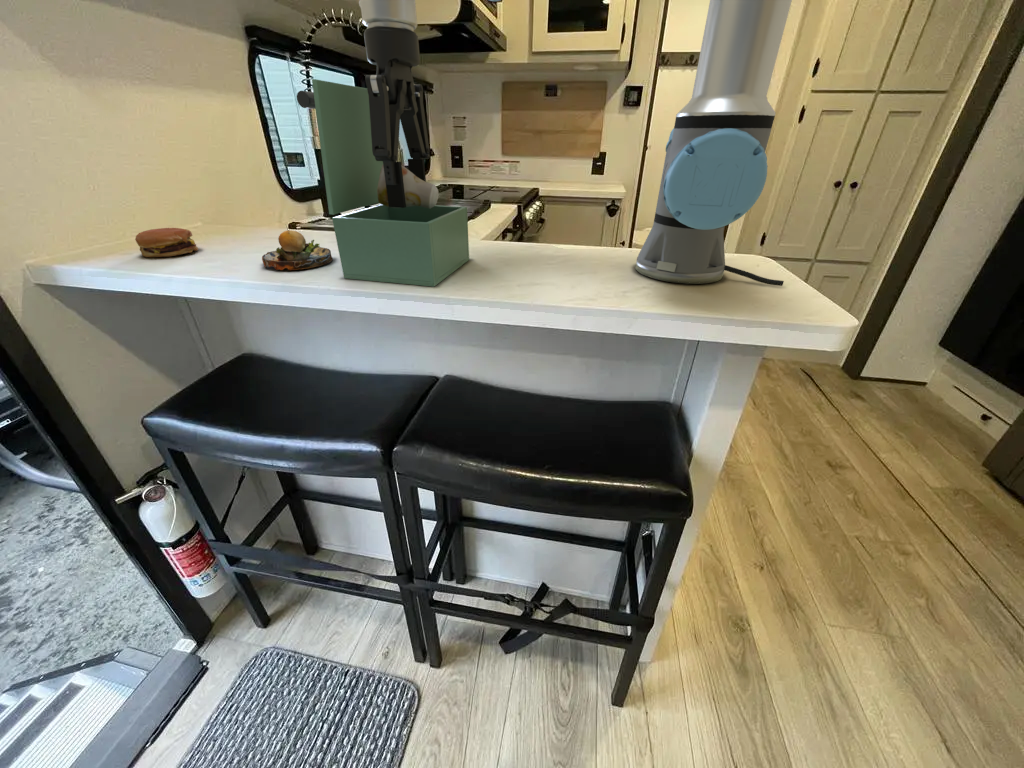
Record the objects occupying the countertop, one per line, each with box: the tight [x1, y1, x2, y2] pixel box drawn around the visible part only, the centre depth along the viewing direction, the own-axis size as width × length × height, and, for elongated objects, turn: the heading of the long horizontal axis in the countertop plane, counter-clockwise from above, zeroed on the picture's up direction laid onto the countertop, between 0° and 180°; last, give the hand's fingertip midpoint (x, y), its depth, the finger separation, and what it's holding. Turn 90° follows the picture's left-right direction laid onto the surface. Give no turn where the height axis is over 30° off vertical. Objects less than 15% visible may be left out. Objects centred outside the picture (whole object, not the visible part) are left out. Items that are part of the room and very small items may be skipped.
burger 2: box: [261, 224, 334, 271], centre depth 77 cm, size 12×12×8 cm
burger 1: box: [134, 227, 199, 258], centre depth 82 cm, size 10×9×5 cm
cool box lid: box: [296, 78, 383, 216], centre depth 69 cm, size 17×18×8 cm
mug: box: [377, 165, 440, 209], centre depth 70 cm, size 8×10×10 cm
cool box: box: [331, 203, 470, 287], centre depth 74 cm, size 17×18×10 cm
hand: (409, 203), depth 70 cm, fingers closed on mug, 8 cm apart
